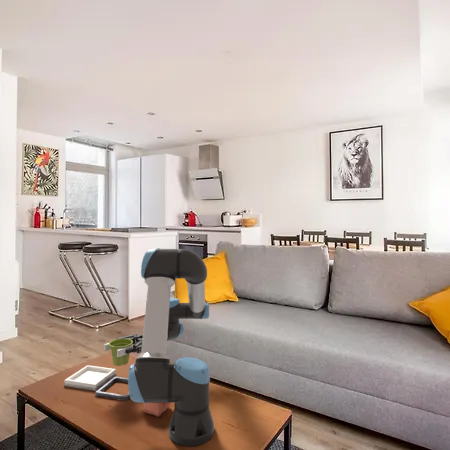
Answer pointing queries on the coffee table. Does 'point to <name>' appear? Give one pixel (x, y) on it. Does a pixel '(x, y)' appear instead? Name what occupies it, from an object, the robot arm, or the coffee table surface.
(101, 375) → the tray
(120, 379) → the grey square frame
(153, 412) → the pink cube teapot
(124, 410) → the coffee table surface
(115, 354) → the plant pot
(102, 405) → the coffee table surface
